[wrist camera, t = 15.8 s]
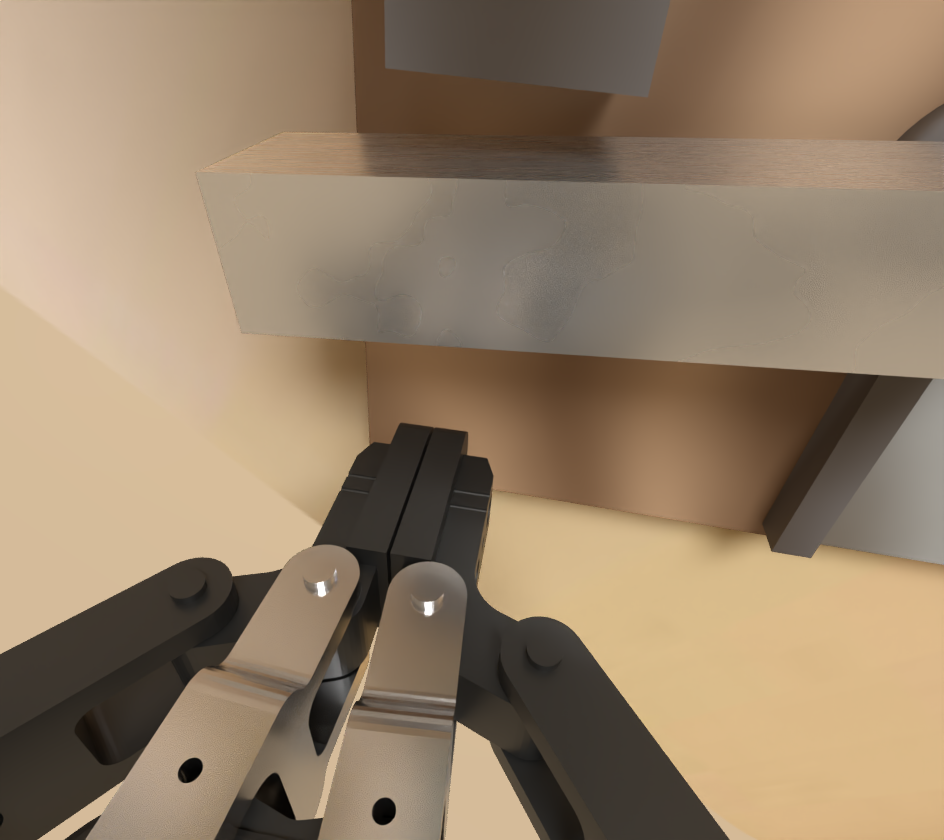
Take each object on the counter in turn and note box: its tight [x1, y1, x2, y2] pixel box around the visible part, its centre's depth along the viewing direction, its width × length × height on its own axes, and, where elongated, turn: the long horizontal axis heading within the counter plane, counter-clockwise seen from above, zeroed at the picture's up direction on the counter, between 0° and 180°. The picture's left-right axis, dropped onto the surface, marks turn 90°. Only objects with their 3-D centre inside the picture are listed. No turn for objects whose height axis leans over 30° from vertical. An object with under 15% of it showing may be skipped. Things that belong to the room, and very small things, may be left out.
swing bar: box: [195, 132, 944, 379], centre depth 11 cm, size 17×4×4 cm, turn 91°
